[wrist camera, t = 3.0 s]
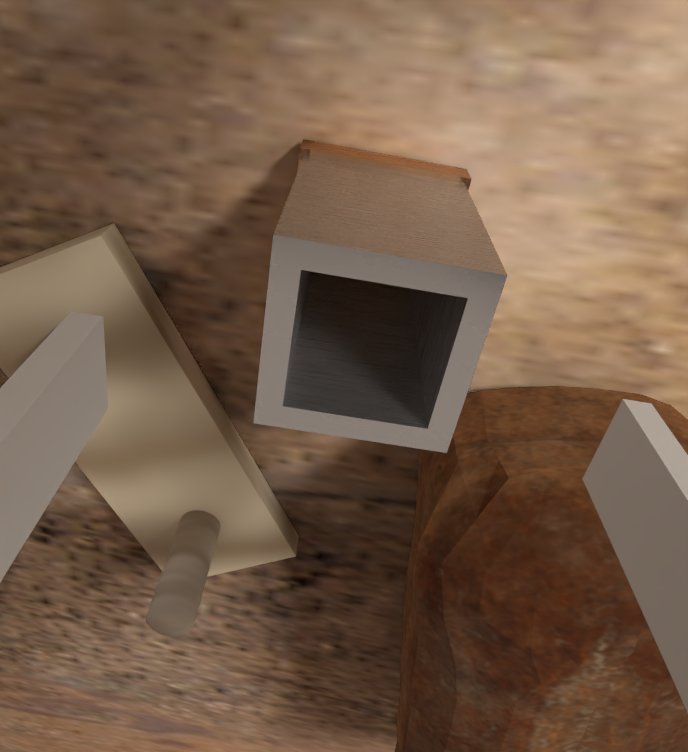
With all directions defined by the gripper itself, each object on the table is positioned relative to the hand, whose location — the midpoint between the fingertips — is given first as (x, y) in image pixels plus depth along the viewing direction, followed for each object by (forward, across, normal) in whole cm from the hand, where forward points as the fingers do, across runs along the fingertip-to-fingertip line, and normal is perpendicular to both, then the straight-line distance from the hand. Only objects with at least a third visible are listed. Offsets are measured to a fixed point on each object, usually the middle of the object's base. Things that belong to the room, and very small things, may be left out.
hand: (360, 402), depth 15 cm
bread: (+12, +12, -18) cm, 25 cm away
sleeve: (+12, 0, 0) cm, 12 cm away
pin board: (+12, -9, -12) cm, 19 cm away
